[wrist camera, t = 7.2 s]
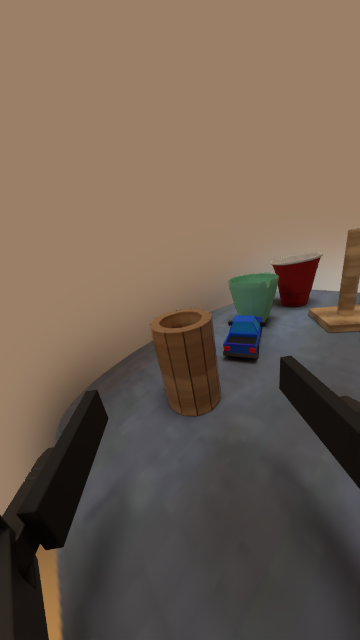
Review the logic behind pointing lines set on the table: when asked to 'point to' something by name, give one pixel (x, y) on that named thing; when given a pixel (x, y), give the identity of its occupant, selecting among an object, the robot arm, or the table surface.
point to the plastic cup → (296, 277)
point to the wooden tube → (187, 360)
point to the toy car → (244, 337)
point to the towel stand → (344, 293)
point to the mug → (254, 294)
